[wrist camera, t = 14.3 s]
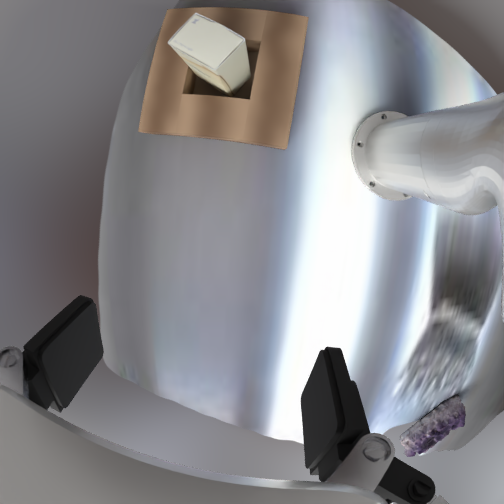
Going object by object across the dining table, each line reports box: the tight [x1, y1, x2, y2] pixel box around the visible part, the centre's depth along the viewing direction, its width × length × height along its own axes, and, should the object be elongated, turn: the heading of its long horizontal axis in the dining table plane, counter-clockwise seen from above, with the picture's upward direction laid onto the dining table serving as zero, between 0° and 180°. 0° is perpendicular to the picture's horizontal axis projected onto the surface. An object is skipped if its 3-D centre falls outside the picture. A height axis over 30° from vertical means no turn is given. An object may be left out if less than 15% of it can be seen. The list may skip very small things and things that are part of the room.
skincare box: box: [168, 13, 251, 97], centre depth 24 cm, size 6×4×12 cm
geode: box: [400, 395, 466, 457], centre depth 47 cm, size 20×12×10 cm, turn 148°
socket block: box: [138, 7, 308, 150], centre depth 28 cm, size 18×18×5 cm
